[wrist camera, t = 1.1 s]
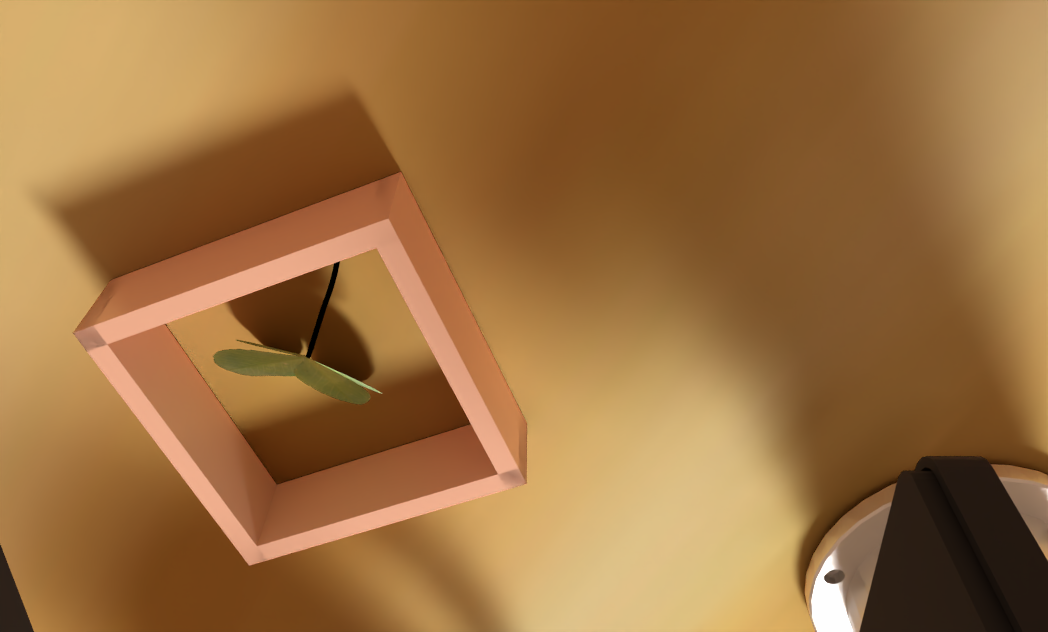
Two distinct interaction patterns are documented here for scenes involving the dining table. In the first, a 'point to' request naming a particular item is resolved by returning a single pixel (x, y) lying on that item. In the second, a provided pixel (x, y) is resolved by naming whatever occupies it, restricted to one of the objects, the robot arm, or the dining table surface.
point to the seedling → (297, 364)
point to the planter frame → (214, 440)
